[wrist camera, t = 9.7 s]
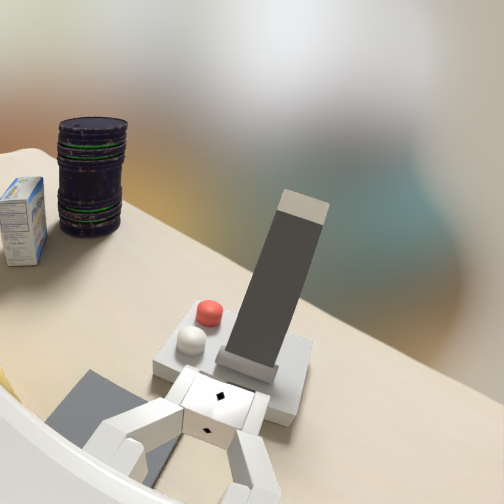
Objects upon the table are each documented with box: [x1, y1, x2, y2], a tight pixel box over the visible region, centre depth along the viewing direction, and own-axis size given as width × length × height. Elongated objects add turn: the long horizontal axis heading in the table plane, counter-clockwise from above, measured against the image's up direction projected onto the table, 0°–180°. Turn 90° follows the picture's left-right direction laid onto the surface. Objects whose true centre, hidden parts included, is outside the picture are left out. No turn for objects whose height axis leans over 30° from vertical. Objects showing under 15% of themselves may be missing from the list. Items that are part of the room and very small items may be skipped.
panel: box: [153, 299, 313, 427], centre depth 26 cm, size 12×9×3 cm
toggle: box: [215, 189, 329, 384], centre depth 25 cm, size 5×2×15 cm
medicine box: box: [0, 177, 47, 266], centre depth 31 cm, size 8×4×9 cm, turn 22°
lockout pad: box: [44, 370, 182, 488], centre depth 18 cm, size 9×9×1 cm
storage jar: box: [57, 117, 128, 239], centre depth 39 cm, size 10×10×15 cm
